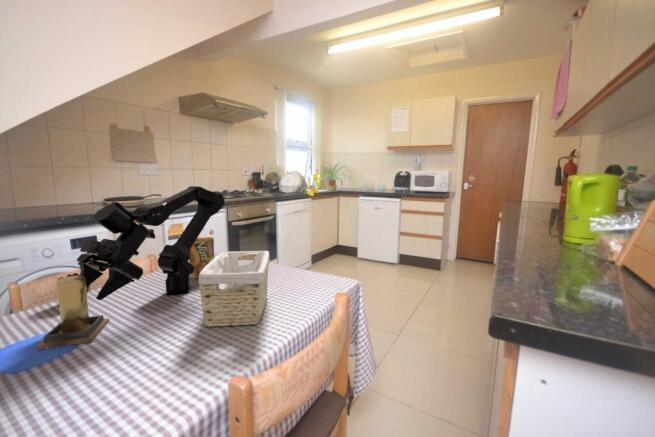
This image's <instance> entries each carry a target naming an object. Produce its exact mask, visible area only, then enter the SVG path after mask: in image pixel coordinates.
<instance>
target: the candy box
mask: <svg viewBox="0 0 655 437" xmlns="http://www.w3.org/2000/svg"><path fill="white" fill-rule="evenodd" d="M214 258H215V240H214V236H213V235H209V236H208V235H207V236H204V235H203V236H198V238H197V239H196V241H195V242H194V244H193V245H192V247H191V249H190V259H189V261H188V262H189V263H190V264H192V265H193V266H194V267H195V268H194V272H193V273H192V274H190V279H199V274H200V272H201V271H202V269H203V268H204V267H205V266H206V265H208V264H209V263H210V262H211V261H212V260H213V259H214Z"/></svg>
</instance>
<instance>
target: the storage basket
mask: <svg viewBox="0 0 655 437" xmlns="http://www.w3.org/2000/svg"><path fill="white" fill-rule="evenodd" d="M239 261H252V262H249V263H247V264H243V265H240V264H239ZM269 265H270V251H269V250H242V251H241V250H239V251H223V252H220V253H219V254H218V255H216V256H214V259H213V260H212V261H211V262H210V263H209V264H208V265H206V266H205V267H204V268H203V269H202V271H201V272H200V274H199V278H198V285H199V288H198V289H199V292H200V298H201V302H200V303H201V307H202V311H201V312H202V317H203V319H202V320H203V323H202V324H203V325H204V326H205V327H227V326H233V327H234V326H235V327H237V326H249V325H257V324H259V323H260V320H261V317H262V314H263V311H264V309H265V306H266V300H267V295H268V288H269V287H268V279H269V278H268V276H269Z"/></svg>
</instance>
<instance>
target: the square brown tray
mask: <svg viewBox="0 0 655 437" xmlns="http://www.w3.org/2000/svg"><path fill="white" fill-rule="evenodd" d="M89 323H90V327H89V328H88V329H87V330H85V331H77V332H69V333H62V327H61V321H60V322H59V323H57V325H56V326H55V327H53V328H52V329H51V330H50V331H49V332H47V333H46V334H45V335H44V336H42V338H43V340H42V341H41V342H39V343H38V344H37V345H36V350H37V349H38V350H42V349H41V348H45V349H50V348H49V347H52V348H57V347H56V346H59V347H64V346H63V345H66V346H72V345H71V344H74V345H79V344H86V343H92V342H94V340H96V338H97V337H98V336H99V334H100V333H101V332H102V331H103V330H104V328H105V327H106V326H107V324H109V323H110V318H104V315H103V314H102V315H94V316H93V315H92V316H89ZM46 347H48V348H46Z"/></svg>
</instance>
